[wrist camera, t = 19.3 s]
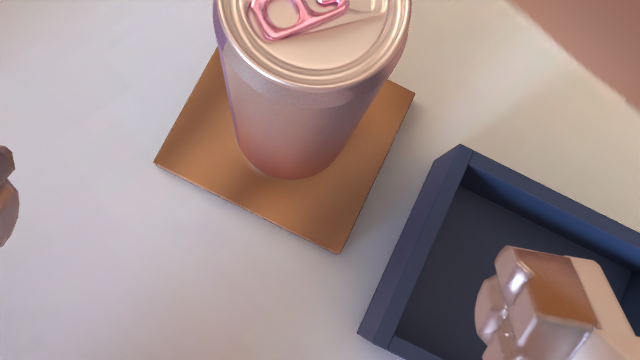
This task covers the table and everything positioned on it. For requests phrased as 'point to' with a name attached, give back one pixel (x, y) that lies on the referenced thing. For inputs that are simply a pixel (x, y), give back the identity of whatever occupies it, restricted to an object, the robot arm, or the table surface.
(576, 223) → the open storage box
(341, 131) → the beverage can
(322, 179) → the coaster
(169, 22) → the table surface
